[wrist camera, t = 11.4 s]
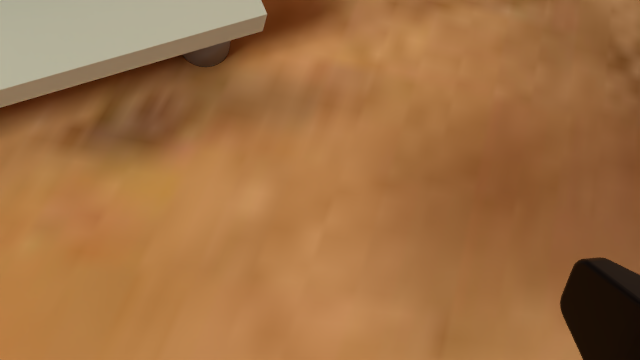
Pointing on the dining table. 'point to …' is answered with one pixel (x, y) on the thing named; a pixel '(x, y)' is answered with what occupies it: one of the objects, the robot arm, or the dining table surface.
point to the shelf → (111, 38)
